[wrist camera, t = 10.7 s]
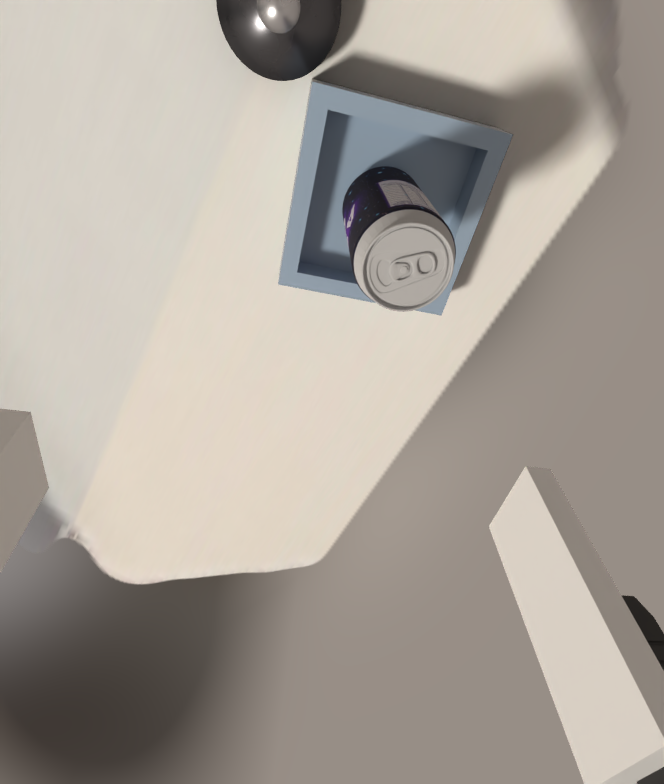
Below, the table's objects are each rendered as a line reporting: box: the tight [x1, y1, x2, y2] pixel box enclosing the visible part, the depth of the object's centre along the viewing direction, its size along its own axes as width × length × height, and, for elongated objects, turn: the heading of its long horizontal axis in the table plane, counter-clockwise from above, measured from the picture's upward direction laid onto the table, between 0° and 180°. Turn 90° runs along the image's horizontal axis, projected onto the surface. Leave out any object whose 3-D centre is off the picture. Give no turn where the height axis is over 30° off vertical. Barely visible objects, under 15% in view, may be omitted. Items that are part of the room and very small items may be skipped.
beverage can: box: [342, 166, 456, 312], centre depth 30 cm, size 6×6×12 cm
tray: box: [278, 79, 513, 315], centre depth 34 cm, size 13×13×3 cm
